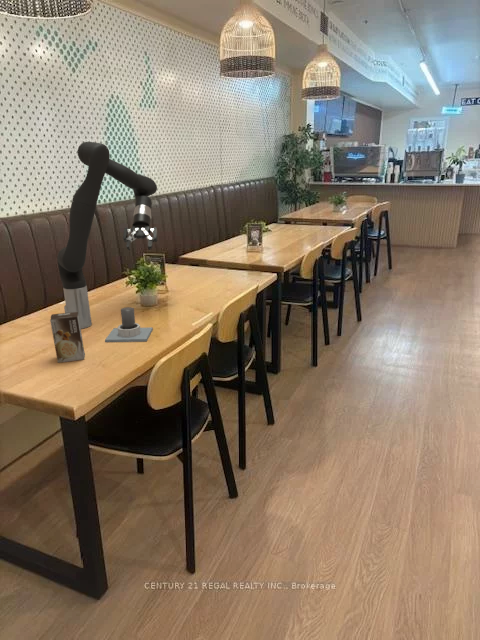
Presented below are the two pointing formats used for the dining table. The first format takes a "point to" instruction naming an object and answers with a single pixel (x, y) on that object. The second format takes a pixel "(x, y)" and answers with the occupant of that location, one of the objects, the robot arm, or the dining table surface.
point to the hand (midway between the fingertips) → (139, 249)
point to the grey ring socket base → (129, 334)
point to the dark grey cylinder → (128, 318)
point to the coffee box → (67, 337)
